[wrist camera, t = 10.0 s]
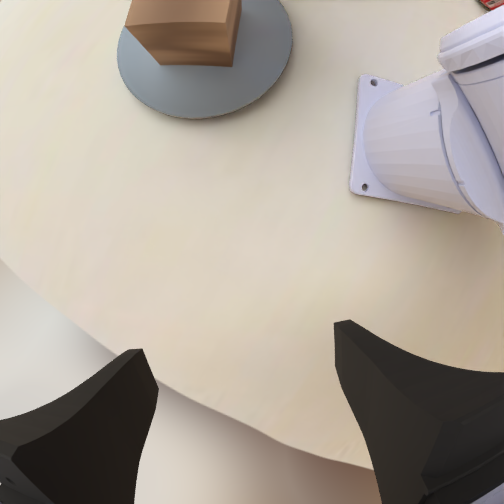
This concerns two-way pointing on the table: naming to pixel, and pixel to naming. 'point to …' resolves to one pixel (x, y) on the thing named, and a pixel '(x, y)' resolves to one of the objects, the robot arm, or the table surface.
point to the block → (186, 30)
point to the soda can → (492, 3)
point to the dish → (213, 68)
